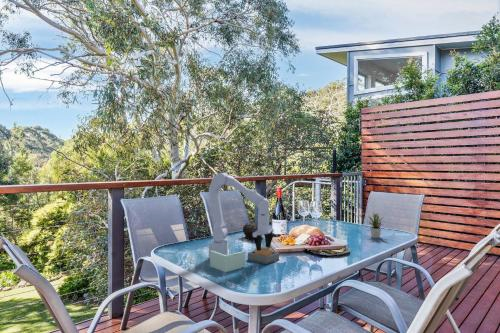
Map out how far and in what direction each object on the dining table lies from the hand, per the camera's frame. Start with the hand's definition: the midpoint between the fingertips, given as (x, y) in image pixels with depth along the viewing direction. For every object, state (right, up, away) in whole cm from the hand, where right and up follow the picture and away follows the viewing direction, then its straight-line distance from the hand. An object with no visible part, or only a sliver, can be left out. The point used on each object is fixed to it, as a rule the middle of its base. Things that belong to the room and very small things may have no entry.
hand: (263, 248), depth 180 cm
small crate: (0, -5, 0) cm, 5 cm away
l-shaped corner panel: (-17, -6, -11) cm, 21 cm away
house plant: (+75, -4, +52) cm, 91 cm away
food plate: (+36, -6, +17) cm, 40 cm away
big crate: (0, -6, 0) cm, 6 cm away
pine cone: (-4, -5, +46) cm, 46 cm away
